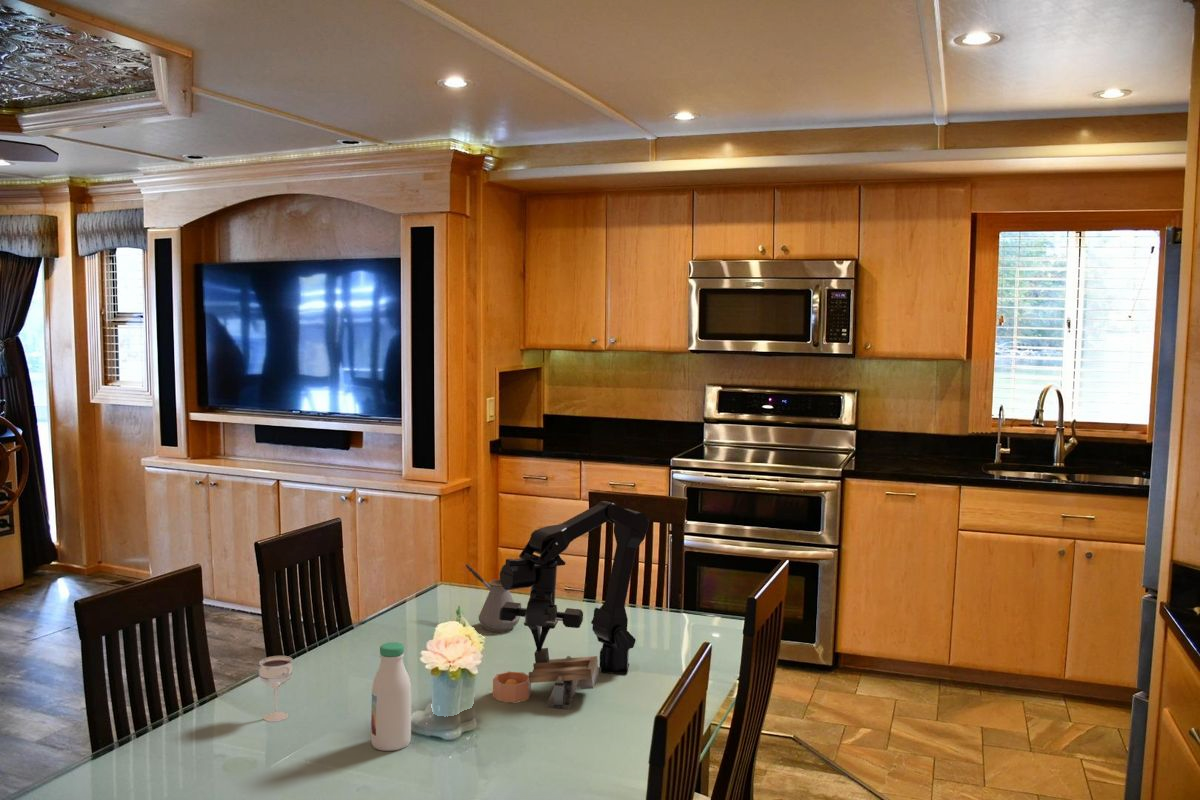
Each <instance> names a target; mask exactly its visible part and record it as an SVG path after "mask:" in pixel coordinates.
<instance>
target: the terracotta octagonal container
mask: <svg viewBox="0 0 1200 800" xmlns="http://www.w3.org/2000/svg"><path fill="white" fill-rule="evenodd" d="M509 679H514V680H516V681H517V683H518V684H515V685H514V684H505V682H506V681H507V680H509ZM531 689H532V683H530V682H529V674H527V673H525V672H522V671H504V672H501V673H497V674H496V675H495V676H494V678H493V679H492V698H494V697H495V698H496V699H495V698H494V699H495V700H497V699H498V700H500V701H505V702H504V703H508V702H517V703H519V702H518V701H521V702H524V701H528V700H529V698H530V696H531V694H532V691H531ZM530 693H531V694H530ZM527 699H528V700H527ZM498 700H497V701H498ZM523 700H524V701H523ZM500 701H499V702H500Z"/></svg>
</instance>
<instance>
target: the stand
mask: <svg viewBox="0 0 1200 800" xmlns="http://www.w3.org/2000/svg"><path fill="white" fill-rule="evenodd" d="M578 687H579V680H567V681H562V682H561V683H557V681H555V683H554V685H553V689H552V692H551V694H550V696H549V699H548V701H547V703H546V708H548V709H549V708H550V709H564V710H570V708H571V706H572V703H573V701H574V697H575V695H576V692H577V690H578Z"/></svg>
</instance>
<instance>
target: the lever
mask: <svg viewBox="0 0 1200 800" xmlns="http://www.w3.org/2000/svg"><path fill="white" fill-rule="evenodd" d="M534 660H535V662H534V663H532V664H533V666H532V667H533V670H532V671H529V672H528V675H529V682H530V683H531V684H535V683H549V682H557V683H561V682H562V681H567V680H579V685H578V687H579V690H591V689H594V687H595V684H596V681H597V679H598V675H599V665H598V662H599V661H598V656H596V655H594V656H581V657H580V656H579V657H572V656H569V655H567V656H566V658H553V659H550V654H549V648H548V647H542V649H541V651H537V649H536V650H535V651H534Z"/></svg>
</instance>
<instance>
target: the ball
mask: <svg viewBox="0 0 1200 800" xmlns="http://www.w3.org/2000/svg"><path fill="white" fill-rule="evenodd" d="M505 684H514V685H515V684H518V683H517V681H516V680H514V679H509V680H507V681H506V682H505Z"/></svg>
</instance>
